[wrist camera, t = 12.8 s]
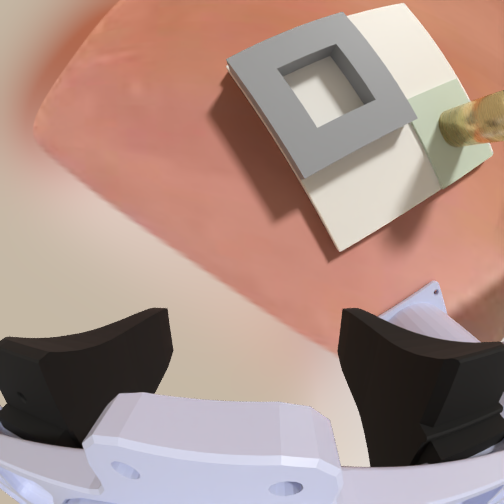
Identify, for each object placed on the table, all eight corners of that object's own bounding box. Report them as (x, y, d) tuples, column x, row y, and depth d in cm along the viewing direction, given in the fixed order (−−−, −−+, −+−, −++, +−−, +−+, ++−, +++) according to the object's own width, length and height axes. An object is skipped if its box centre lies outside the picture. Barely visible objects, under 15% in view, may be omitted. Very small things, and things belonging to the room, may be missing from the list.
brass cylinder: (464, 114, 16) (521, 97, 9) (468, 149, 16) (529, 143, 10) (436, 106, 16) (494, 84, 9) (440, 144, 16) (503, 133, 10)
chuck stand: (486, 153, 17) (508, 152, 14) (336, 249, 20) (348, 259, 17) (399, 8, 15) (412, -8, 12) (227, 71, 17) (222, 54, 15)
